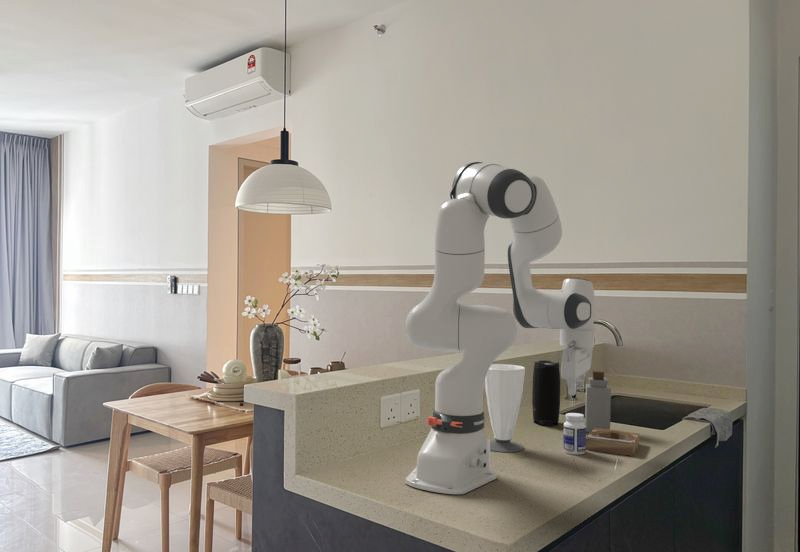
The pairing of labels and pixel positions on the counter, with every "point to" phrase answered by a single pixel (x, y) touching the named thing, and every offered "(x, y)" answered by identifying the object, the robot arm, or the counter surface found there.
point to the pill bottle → (574, 434)
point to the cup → (504, 404)
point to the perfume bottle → (597, 402)
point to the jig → (612, 441)
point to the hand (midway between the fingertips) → (576, 391)
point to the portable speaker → (546, 392)
